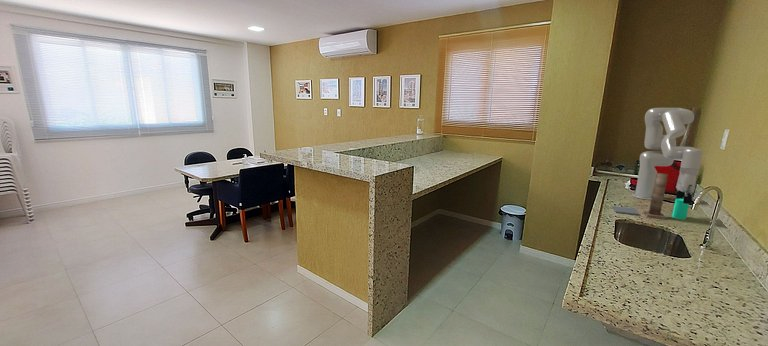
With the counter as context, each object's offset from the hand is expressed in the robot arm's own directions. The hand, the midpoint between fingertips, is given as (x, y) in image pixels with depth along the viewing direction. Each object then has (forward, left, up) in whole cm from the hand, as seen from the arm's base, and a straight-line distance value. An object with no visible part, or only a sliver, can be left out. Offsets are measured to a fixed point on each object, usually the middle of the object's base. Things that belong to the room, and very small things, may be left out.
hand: (683, 201), depth 175 cm
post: (+2, -12, -10) cm, 16 cm away
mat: (-1, -25, -10) cm, 27 cm away
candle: (-1, 0, -10) cm, 10 cm away
